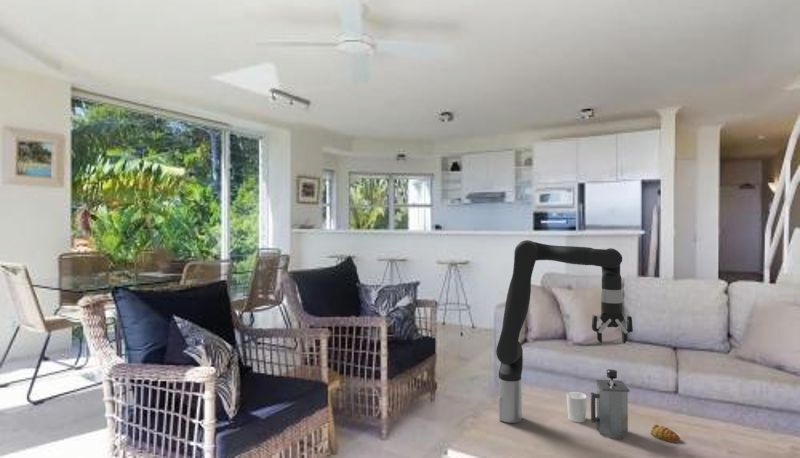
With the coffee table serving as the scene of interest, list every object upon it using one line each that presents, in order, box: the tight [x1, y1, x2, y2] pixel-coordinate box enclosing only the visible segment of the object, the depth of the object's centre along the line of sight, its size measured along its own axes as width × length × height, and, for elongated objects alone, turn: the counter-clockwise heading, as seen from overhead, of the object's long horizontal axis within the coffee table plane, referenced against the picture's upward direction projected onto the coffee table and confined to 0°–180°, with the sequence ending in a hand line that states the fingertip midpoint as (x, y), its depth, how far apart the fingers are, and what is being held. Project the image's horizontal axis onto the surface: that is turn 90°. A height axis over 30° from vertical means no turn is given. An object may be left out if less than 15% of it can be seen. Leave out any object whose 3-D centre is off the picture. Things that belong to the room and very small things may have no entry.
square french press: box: [590, 379, 630, 440], centre depth 182 cm, size 13×10×19 cm
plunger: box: [606, 368, 618, 386], centre depth 181 cm, size 8×8×15 cm
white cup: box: [565, 391, 588, 423], centre depth 194 cm, size 8×8×10 cm
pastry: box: [650, 424, 681, 444], centre depth 177 cm, size 9×7×4 cm
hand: (612, 342), depth 181 cm, fingers open, 8 cm apart
